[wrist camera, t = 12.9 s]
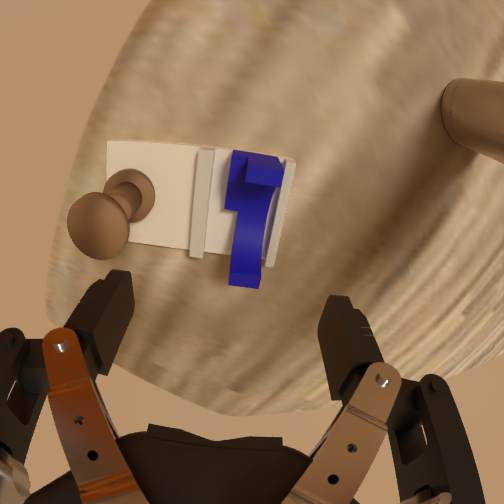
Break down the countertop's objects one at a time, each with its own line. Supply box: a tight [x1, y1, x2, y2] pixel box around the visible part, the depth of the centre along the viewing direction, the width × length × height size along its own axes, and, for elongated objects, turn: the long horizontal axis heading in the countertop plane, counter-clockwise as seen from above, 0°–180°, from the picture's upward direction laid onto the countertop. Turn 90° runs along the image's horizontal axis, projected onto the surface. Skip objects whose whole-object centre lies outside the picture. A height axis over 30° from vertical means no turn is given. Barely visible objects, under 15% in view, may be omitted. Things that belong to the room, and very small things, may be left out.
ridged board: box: [107, 139, 296, 267], centre depth 31 cm, size 20×12×3 cm, turn 81°
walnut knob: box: [67, 169, 155, 260], centre depth 26 cm, size 6×6×9 cm
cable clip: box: [224, 149, 285, 289], centre depth 29 cm, size 12×4×6 cm, turn 170°
